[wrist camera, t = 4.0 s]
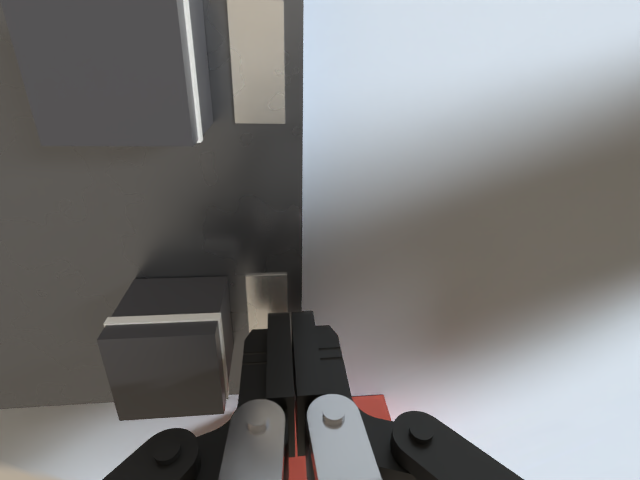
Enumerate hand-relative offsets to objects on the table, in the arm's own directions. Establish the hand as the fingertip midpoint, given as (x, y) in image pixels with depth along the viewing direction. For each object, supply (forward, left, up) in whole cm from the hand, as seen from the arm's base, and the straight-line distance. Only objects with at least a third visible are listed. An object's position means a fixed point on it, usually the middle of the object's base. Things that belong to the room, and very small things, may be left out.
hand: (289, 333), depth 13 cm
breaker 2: (+3, 0, -1) cm, 4 cm away
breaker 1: (+3, -8, -1) cm, 9 cm away
